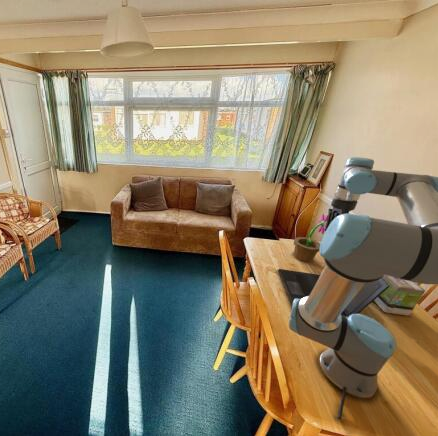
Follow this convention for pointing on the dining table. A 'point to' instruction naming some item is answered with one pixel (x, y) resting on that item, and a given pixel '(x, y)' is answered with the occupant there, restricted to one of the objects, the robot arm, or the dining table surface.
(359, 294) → the laptop screen
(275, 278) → the dining table surface
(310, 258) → the flowerpot
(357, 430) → the dining table surface
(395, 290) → the tea box
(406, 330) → the dining table surface
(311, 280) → the laptop
